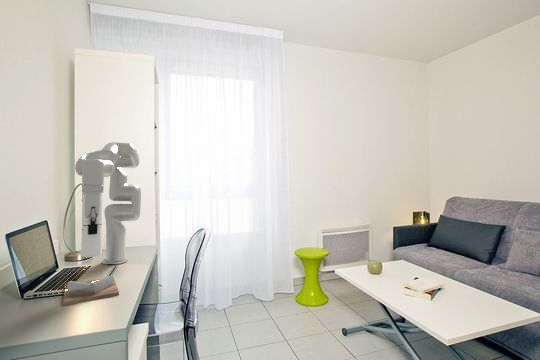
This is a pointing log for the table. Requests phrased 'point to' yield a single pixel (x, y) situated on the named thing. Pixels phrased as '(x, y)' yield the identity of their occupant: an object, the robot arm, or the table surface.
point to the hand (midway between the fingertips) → (92, 232)
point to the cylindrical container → (92, 243)
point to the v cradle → (90, 290)
